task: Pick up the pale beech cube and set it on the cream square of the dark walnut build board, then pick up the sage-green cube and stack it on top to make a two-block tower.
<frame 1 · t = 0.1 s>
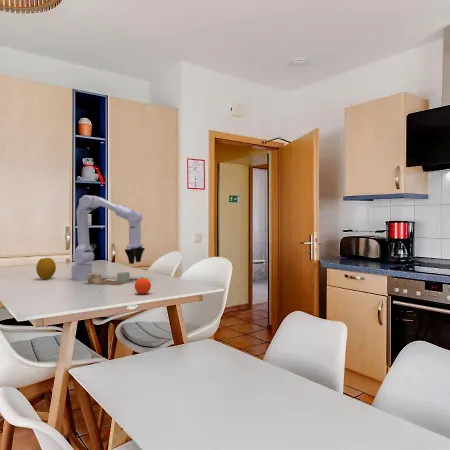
hand: (135, 262, 203), 10 cm above the table, fingers open, 7 cm apart
beech block: (94, 283, 197), point 1 cm above the table, touching build board
sage block: (123, 281, 201), point 1 cm above the table, touching build board
build board: (111, 283, 202), on the table
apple: (46, 279, 217), on the table
tomato: (144, 294, 175), on the table
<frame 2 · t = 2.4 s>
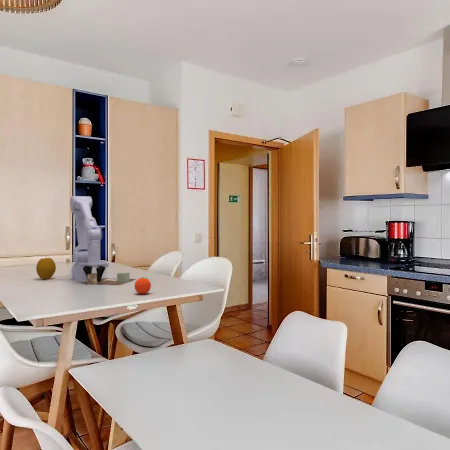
hand: (94, 281, 197), 2 cm above the table, fingers closed on beech block, 4 cm apart
beech block: (94, 283, 197), point 1 cm above the table, touching build board, gripper
everything else where it was.
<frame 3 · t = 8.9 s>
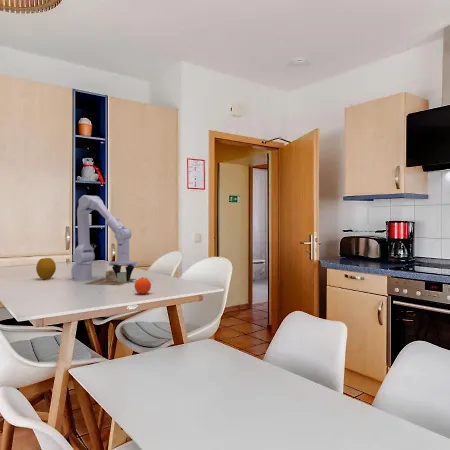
hand: (123, 280, 201), 2 cm above the table, fingers closed on sage block, 4 cm apart
beech block: (111, 279, 207), point 1 cm above the table, touching build board
sage block: (123, 281, 201), point 1 cm above the table, touching build board, gripper
everything else where it was.
when the fingers open (7 cm above the table, at t = 11.4 s): sage block stays where it is, resting on beech block.
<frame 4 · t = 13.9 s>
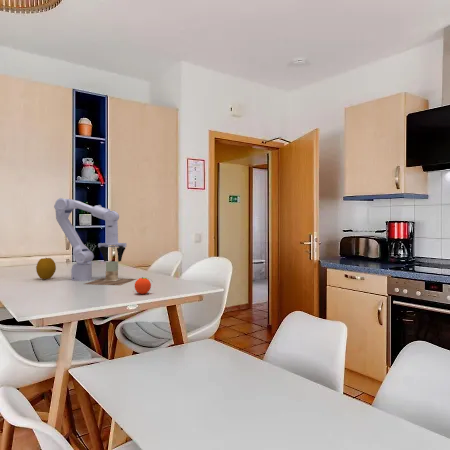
hand: (112, 261, 207), 10 cm above the table, fingers open, 7 cm apart
beech block: (111, 279, 207), point 1 cm above the table, touching build board, sage block
sage block: (112, 270, 208), point 6 cm above the table, touching beech block
everything else where it was.
at the end: beech block 0.3 cm from the target spot, point 1.1 cm above the table; sage block 0.3 cm off-centre on the beech block, point 4.5 cm above the beech block's base; sage block tilted 0° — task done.
